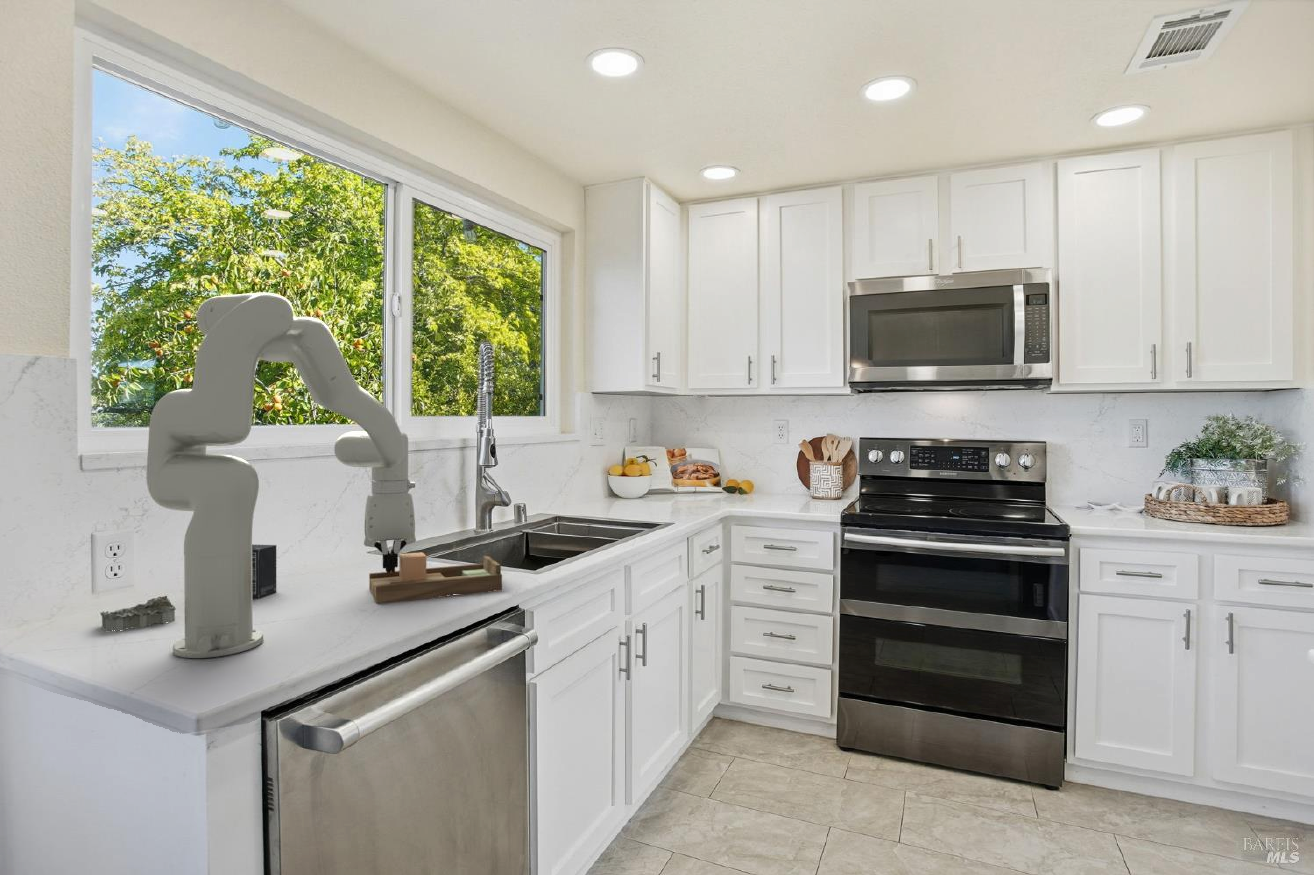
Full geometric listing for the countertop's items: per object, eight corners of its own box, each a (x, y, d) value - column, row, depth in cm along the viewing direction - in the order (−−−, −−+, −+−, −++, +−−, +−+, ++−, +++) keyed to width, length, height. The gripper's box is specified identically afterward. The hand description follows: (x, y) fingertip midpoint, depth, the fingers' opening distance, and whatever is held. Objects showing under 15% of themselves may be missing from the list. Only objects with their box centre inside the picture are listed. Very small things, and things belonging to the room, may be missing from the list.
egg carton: (170, 615, 135) (170, 594, 135) (177, 624, 129) (177, 602, 129) (99, 626, 127) (99, 603, 127) (104, 635, 122) (104, 612, 122)
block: (426, 578, 156) (426, 556, 156) (402, 580, 153) (402, 558, 153) (422, 574, 160) (422, 552, 160) (399, 576, 158) (399, 554, 158)
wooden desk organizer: (501, 590, 156) (501, 565, 156) (376, 603, 144) (376, 576, 144) (486, 577, 168) (486, 554, 168) (369, 588, 156) (369, 564, 156)
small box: (278, 591, 153) (278, 543, 153) (259, 599, 147) (258, 549, 146) (233, 590, 154) (233, 542, 154) (211, 597, 148) (211, 547, 147)
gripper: (422, 485, 161) (422, 565, 161) (351, 487, 154) (351, 571, 154) (428, 488, 154) (428, 571, 155) (354, 491, 147) (355, 578, 148)
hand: (390, 571), depth 155 cm, fingers closed
